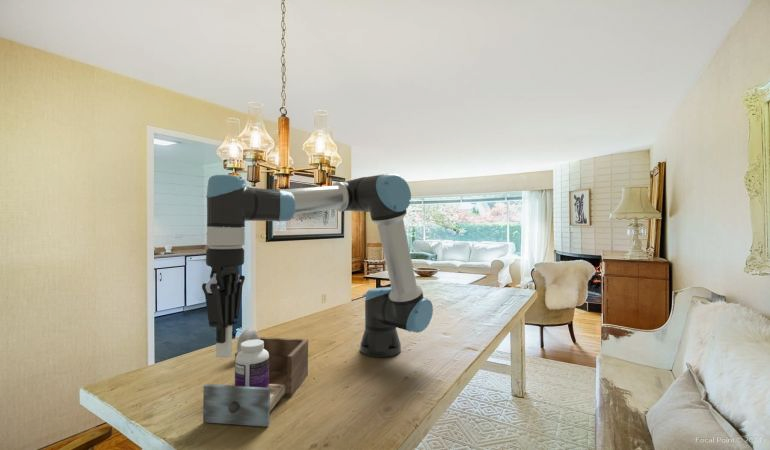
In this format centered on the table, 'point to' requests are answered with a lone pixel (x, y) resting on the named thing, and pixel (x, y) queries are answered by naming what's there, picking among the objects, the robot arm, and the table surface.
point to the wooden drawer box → (286, 362)
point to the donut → (246, 337)
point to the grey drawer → (240, 404)
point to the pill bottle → (252, 365)
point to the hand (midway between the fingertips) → (223, 356)
